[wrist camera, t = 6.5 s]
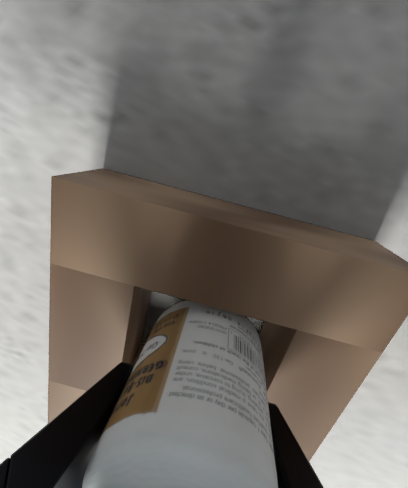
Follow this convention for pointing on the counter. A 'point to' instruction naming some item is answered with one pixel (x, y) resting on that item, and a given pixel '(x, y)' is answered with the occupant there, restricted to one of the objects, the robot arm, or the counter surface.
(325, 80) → the counter surface
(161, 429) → the pill bottle
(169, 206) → the socket block
